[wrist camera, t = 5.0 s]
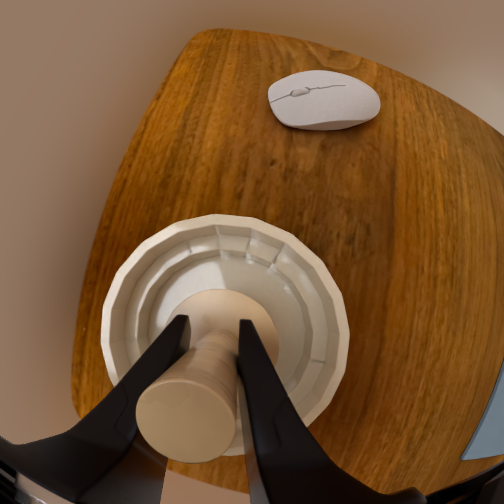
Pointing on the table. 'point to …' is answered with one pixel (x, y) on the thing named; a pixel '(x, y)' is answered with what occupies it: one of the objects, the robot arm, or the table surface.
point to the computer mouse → (322, 101)
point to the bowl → (241, 280)
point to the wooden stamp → (203, 379)
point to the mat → (489, 426)
